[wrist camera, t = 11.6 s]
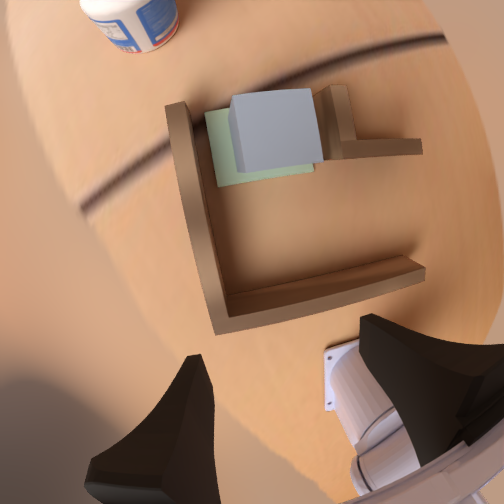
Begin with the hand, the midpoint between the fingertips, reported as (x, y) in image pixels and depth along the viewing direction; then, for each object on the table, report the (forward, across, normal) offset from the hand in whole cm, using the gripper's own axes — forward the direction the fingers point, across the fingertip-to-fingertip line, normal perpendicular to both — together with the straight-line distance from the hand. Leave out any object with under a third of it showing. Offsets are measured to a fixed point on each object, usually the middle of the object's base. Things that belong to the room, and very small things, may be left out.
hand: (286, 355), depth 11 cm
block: (+10, -2, -10) cm, 14 cm away
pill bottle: (+11, +5, -21) cm, 24 cm away
